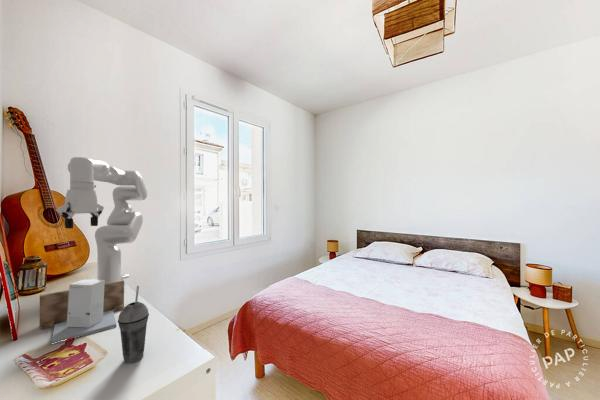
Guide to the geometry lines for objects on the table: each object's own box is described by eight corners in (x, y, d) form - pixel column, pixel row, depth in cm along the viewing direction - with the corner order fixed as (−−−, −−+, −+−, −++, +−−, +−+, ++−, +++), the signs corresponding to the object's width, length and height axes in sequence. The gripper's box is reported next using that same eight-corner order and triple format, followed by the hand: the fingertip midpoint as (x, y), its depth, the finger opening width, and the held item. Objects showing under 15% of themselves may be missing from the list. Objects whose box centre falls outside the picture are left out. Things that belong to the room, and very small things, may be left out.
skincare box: (66, 328, 82) (66, 284, 82) (82, 319, 88) (82, 278, 88) (90, 328, 82) (90, 284, 82) (105, 319, 88) (105, 278, 88)
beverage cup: (111, 363, 65) (111, 290, 65) (137, 348, 72) (137, 281, 72) (129, 370, 63) (129, 293, 63) (155, 353, 70) (155, 284, 70)
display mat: (112, 312, 95) (112, 310, 95) (116, 326, 85) (116, 323, 85) (55, 327, 84) (55, 324, 84) (51, 344, 74) (51, 341, 74)
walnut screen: (122, 304, 103) (122, 278, 103) (124, 308, 98) (124, 282, 98) (40, 323, 87) (40, 293, 87) (38, 330, 82) (38, 298, 82)
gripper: (96, 188, 111) (96, 224, 111) (50, 185, 94) (50, 229, 94) (109, 187, 110) (109, 225, 110) (65, 185, 93) (65, 229, 93)
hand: (82, 227), depth 102 cm, fingers open, 9 cm apart
